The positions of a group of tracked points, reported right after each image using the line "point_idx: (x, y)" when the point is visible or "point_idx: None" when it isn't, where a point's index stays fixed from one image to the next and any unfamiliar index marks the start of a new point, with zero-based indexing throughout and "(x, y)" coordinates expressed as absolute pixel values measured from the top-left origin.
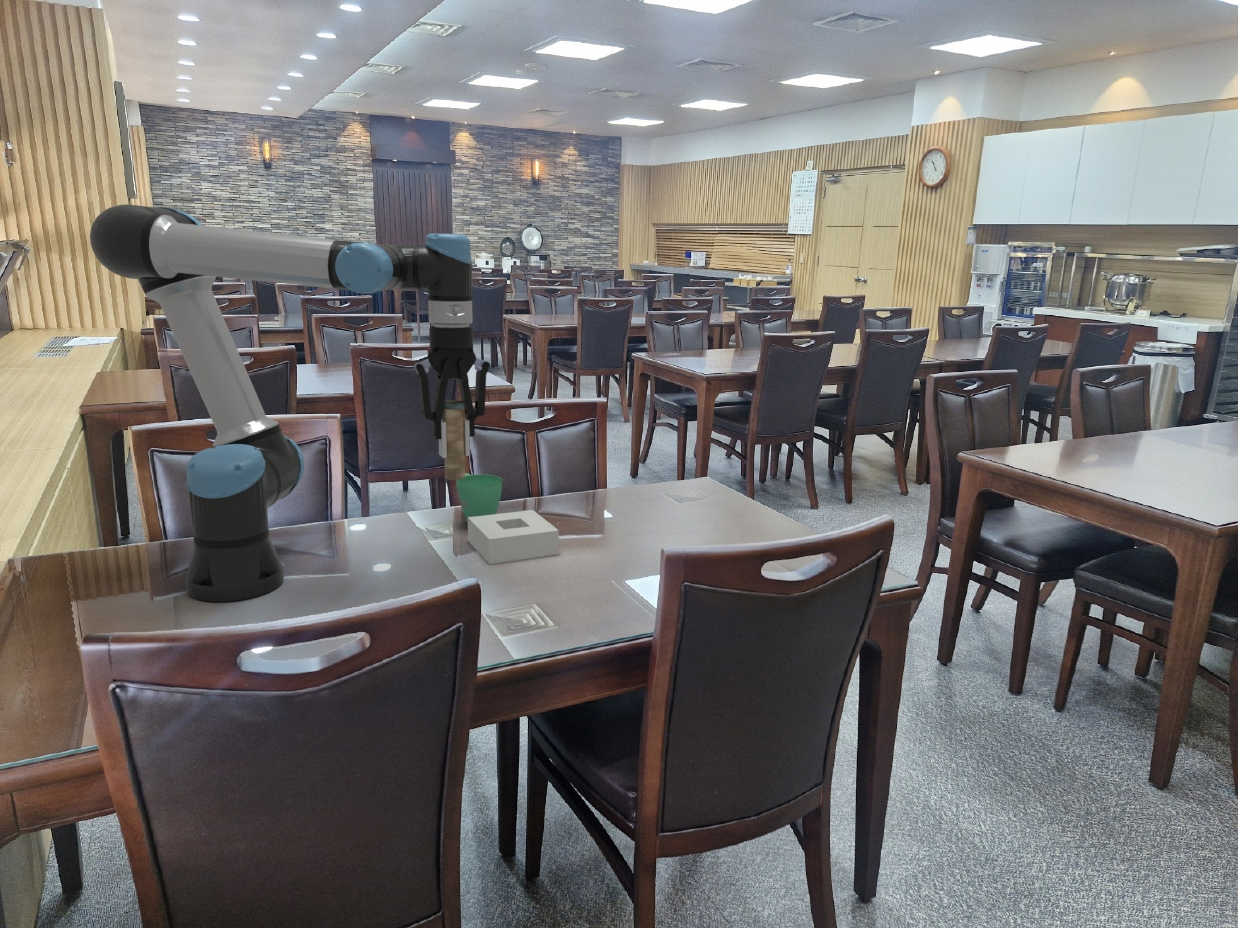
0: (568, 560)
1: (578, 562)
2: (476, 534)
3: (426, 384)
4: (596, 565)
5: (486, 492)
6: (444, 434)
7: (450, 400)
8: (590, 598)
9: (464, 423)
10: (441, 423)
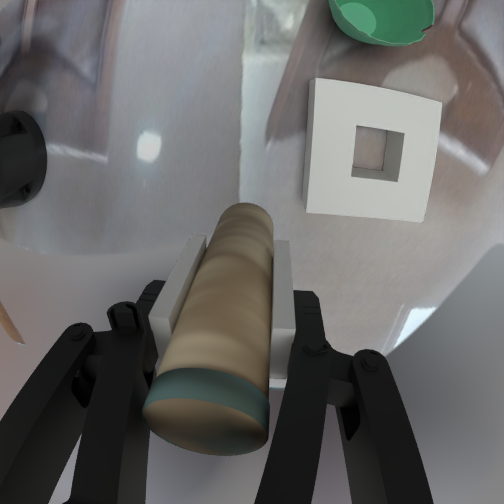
0: (405, 232)
1: (410, 243)
2: (310, 134)
3: (42, 492)
4: (420, 261)
5: (381, 44)
6: None
7: (197, 401)
8: (354, 331)
9: None
10: (160, 358)
